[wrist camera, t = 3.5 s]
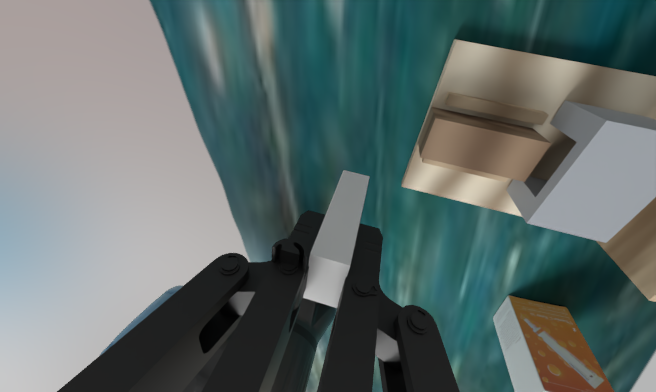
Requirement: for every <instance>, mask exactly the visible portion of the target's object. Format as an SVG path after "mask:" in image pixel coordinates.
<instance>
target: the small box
mask: <svg viewBox="0 0 656 392" xmlns="http://www.w3.org/2000/svg"><path fill="white" fill-rule="evenodd" d="M493 321H494V324H495V328H496V331H497V334H498V338H499V341H500V344H501V348H502V351H503V354H504V357H505V361H506V364H507V367H508V371H509V374H510V377H511V381H512V384H513V387H514V390H515V392H614V390H613V389H612V387H611V385H610V383H609V381H608V380H607V378H606V376H605V374H604V373H603V371H602V369H601V367H600V365H599V364H598V362H597V360H596V358H595V357H594V355H593V353H592V351H591V349H590V348H589V346H588V344H587V342H586V341H585V339H584V337H583V335H582V334H581V332H580V330H579V328H578V327H577V325H576V323H575V321H574V320H573V318H572V316H571V314H570V312H569V311H568V309H567V308H566V307H562V306H556V305H551V304H546V303H541V302H537V301H532V300H527V299H523V298H518V297H514V296H510V295H508V296H507V297H506V299H505V300H504V302H503V303H502V305H501V306H500V308H499V309H498V311H497V312H496V314H495V315H494V317H493Z"/></svg>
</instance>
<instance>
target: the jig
mask: <svg viewBox="0 0 656 392" xmlns="http://www.w3.org/2000/svg"><path fill="white" fill-rule="evenodd" d="M565 100H566V101H571V102H576V103H581V104H586V105H591V106H596V107H601V108H606V109H610V110H615V111H620V112H625V113H630V114H635V115H640V116H645V117H650V118H652V119H655V120H656V76H651V75H645V74H640V73H635V72H629V71H624V70H618V69H613V68H608V67H602V66H597V65H591V64H586V63H581V62H575V61H570V60H564V59H559V58H554V57H548V56H543V55H537V54H532V53H527V52H521V51H516V50H510V49H505V48H499V47H494V46H489V45H483V44H478V43H472V42H467V41H462V40H456V39H454V41H453V44H452V46H451V49H450V52H449V55H448V57H447V60H446V63H445V65H444V68H443V71H442V74H441V76H440V79H439V82H438V85H437V87H436V90H435V93H434V95H433V98H432V101H431V104H430V106H429V109H428V112H427V114H426V117H425V120H424V123H423V125H422V128H421V131H420V133H419V136H418V139H417V142H416V144H415V147H414V150H413V152H412V155H411V158H410V161H409V163H408V166H407V169H406V171H405V174H404V177H403V180H402V187H405V188H409V189H413V190H417V191H421V192H425V193H429V194H433V195H437V196H441V197H445V198H449V199H453V200H457V201H461V202H465V203H469V204H473V205H477V206H481V207H485V208H489V209H493V210H498V211H502V212H506V213H510V214H514V215H518V216H522V215H521V213H520V211H519V210H518V208H517V207H516V205H515V203H514V202H513V200H512V199H511V197H510V195H509V194H508V192H507V188H508V187H509V185H510V184H511V182H512V181H513V179H510V178H506V177H502V176H497V175H493V174H489V173H485V172H480V171H476V170H472V169H468V168H463V167H459V166H455V165H450V164H446V163H442V162H438V161H433V160H429V159H425V158H421V157H420V153H419V145H418V141H419V139H420V136H421V133H422V131H423V128H424V125H425V123H426V120H427V117H428V115H429V112H430V109H431V107H436V108H440V109H445V110H450V111H454V112H459V113H464V114H468V115H473V116H478V117H482V118H487V119H492V120H497V121H501V122H506V123H511V124H515V125H520V126H525V127H529V128H533V129H534V130H536V131H537V132H538V133H539V134H540V135H542V136H543V137H544V138H545V139H547V140H548V141H549V142H550V143H551V145H550V146H549V148H548V149H547V151H546V152H545V153H544V155H543V156H542V158H541V159H540V161H539V162H538V164H537V165H536V166H535V168H534V169H533V171H532V172H531V174H530V175H529V176H530V177H534V178H539V179H543V180H547V181H548V180H549V179H550V178H551V176H552V175H553V174H554V172H555V171H556V170H557V168H558V167H559V166H560V164H561V163H562V162H563V160H564V159H565V158H566V156H567V155H568V154H569V152H570V151H571V150H572V148H573V147H574V146H575V144H576V143H577V142H576V141H574V140H573V139H571V138H570V137H569V136H567V135H566V134H564V133H563V132H561V131H560V130H558V129H557V128H555V127H554V126H553V125H551V124H550V123H551V121H552V120H553V118H554V117H555V115H556V114H557V112H558V111H559V109H560V108H561V106H562V104H563V103H564V101H565ZM522 217H523V216H522ZM597 242H598V244H599V245H600V246H601V247H602V248H603V249H604V250H605V251H606V253H607V254H608V255H609V256H610V257H611V258H612V259H613V260H614V262H615V263H616V264H617V265H618V266H619V267H620V268H621V270H622V271H623V272H624V273H625V274H626V275H627V276H628V277H629V279H630V280H631V281H632V282H633V283H634V284H635V285H636V286H637V288H638V289H639V290H640V291H641V292H642V293H643V294H644V295H645V297H646V298H647V299H648V300H650V301H654V302H656V197H655V198H654V199H653V200H652V201H651V202H650V203H649V204H648V205H647V206H646V207H645V208H643V209H642V210H641V211H640V212H639V213H638V214H637V215H636V216H635V217H634V218H633V219H632V220H631V221H629V222H628V223H627V224H626V225H625V226H624V227H623V228H622V229H621V230H620V231H619V232H618V233H617V234H615V235H614V236H613V237H612V238H611V239H610V240H609V241H608V242H607V243H604V242H600V241H597Z"/></svg>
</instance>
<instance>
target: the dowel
mask: <svg viewBox="0 0 656 392" xmlns="http://www.w3.org/2000/svg"><path fill="white" fill-rule="evenodd" d="M418 145H419V153H420V157H421V158H425V159H429V160H433V161H438V162H442V163H446V164H450V165H455V166H459V167H463V168H468V169H472V170H476V171H480V172H485V173H489V174H493V175H497V176H502V177H506V178H510V179H514V180H519V181H523V182H525V181H526V179H527V178H528V177H529V175H530V174H531V172H532V171H533V169H534V168H535V166H536V165H537V164H538V162H539V161H540V159H541V158H542V156H543V155H544V153H545V152H546V151H547V149H548V148H549V146H550V145H551V143H550V142H549V141H548V140H547V139H545V138H544V137H543V136H542V135H540V134H539V133H538V132H537V131H536V130H534V129H533V128H529V127H525V126H520V125H515V124H511V123H506V122H501V121H497V120H492V119H487V118H482V117H478V116H473V115H468V114H464V113H459V112H454V111H450V110H445V109H440V108H436V107H431V109H430V112H429V115H428V117H427V120H426V123H425V125H424V128H423V131H422V133H421V136H420V139H419V141H418Z"/></svg>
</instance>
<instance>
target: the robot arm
mask: <svg viewBox="0 0 656 392" xmlns="http://www.w3.org/2000/svg"><path fill="white" fill-rule="evenodd" d="M369 177H370V176H366V175H362V174H358V173H354V172H350V171H346V170H343V173H342V175H341V178H340V180H339V183H338V185H337V188H336V190H335V193H334V195H333V198H332V200H331V203H330V205H329V208H328V210H327V213H326V215H324V214H320V213H316V212H313V211H309V210H308V211H306V212H305V213H304V214H302V215H301V216H300V218H299V220H298V222H297V224H296V226H295V228H294V230H293V231H292V233H291V235H290V237H289V239H283V240H280V241H278V242H276V243H275V244H274V246H273V247H272V260H271V261H268V262H261V263H259V262H248V261H247V259H246V258H245V257H244V256H243V255H240V254H237V253H228V254H224V255H222V256H220V257H218V258H217V259H215V260H214V261H213V262H212V263H210V264H209V265H208V266H207V267H206V268H204V269H203V270H202V271H201V272H200V273H199V274H197V275H196V276H195V277H194V278H192V279H191V280H190V281H189V282H188V283H186V284H185V285H184V286H176V287H173V288H171V289H169V290H168V291H166V292H165V293H164V294H162V295H161V296H160V297H159V298H158V299H156V300H155V301H154V302H153V303H152V304H151V305H150V306H149V307H148V308H146V309H145V310H144V311H143V312H142V313H141V314H140V315H139V316H138V317H136V319H134V320H133V321H132V322H131V323H130V324H129V325H128V326H127V327H126V328H125V329H124V330H123V331H122V332H121V333H120V334H119V335H118V336H117V337H116V338H115V339H114V341H113V342H112V343H111V344H110V345H109V346H108V347H107V348H106V349H105V350H104V351H103V352H102V353H101V355H100V356H99V357H98V358H97V359H96V360H94V361H93V362H92V363H91V364H90V365H88V366H87V367H86V368H85V369H84V370H82V371H81V372H80V373H79V374H78V375H76V376H75V377H74V378H73V379H72V380H71V381H69V382H68V383H67V384H66V385H65V386H63V387H62V388H61V389H60V390H59V391H57V392H305V391H306V387H307V384H308V380H309V376H310V372H311V368H312V364H313V360H314V356H315V352H316V348H317V345H318V342H319V341H320V339H321V337H322V336H323V334H324V333H325V331H326V329H327V328H328V326H329V325H330V323H331V322H332V320H333V318H334V316H335V318H334V322H333V325H332V328H331V335H330V339H329V343H328V347H327V352H326V356H325V360H324V364H323V369H322V373H321V377H320V382H319V386H318V390H317V392H372V385H373V373H374V362H375V355H376V356H377V357H378V360H379V367H380V374H381V381H382V388H383V392H459V389H458V386H457V383H456V380H455V377H454V374H453V371H452V369H451V366H450V363H449V360H448V357H447V354H446V351H445V348H444V345H443V342H442V339H441V336H440V333H439V330H438V328H437V325H436V323H435V321H434V319H433V317H432V316H431V315H430V314H429V313H428V312H427V311H426V310H424V309H422V308H421V307H418V306H414V305H408V306H405V307H403V308H402V307H401V306H399V305H398V304H396V303H394V302H393V301H391V300H390V299H389V298H387V296H386V295H385V294H384V293H383V292H382V290H381V288H380V285H379V272H380V262H381V251H382V240H383V237H382V234H381V232H380V230H379V229H378V228H374V227H371V226H367V225H363V224H360V219H361V214H362V209H363V205H364V200H365V196H366V191H367V186H368V182H369ZM336 308H337V311H336ZM335 312H336V315H335Z"/></svg>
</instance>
